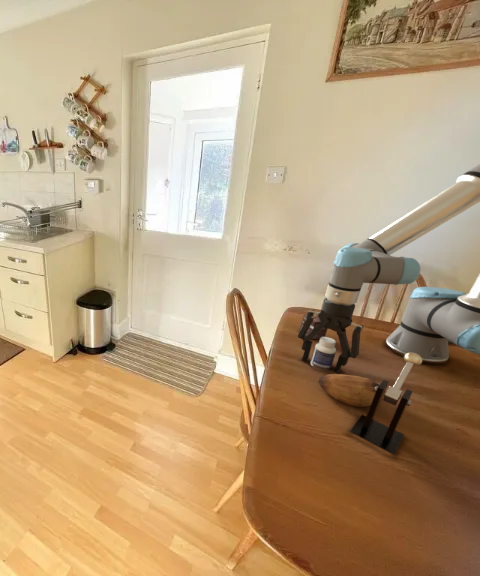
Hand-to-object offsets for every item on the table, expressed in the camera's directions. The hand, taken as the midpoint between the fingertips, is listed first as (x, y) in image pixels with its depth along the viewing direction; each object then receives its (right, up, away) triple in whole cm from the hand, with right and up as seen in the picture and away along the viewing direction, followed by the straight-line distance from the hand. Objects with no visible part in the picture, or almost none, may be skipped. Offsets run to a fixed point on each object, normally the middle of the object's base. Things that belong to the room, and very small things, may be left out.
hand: (320, 365), depth 99 cm
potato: (-4, -6, -15) cm, 16 cm away
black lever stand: (-6, -10, -26) cm, 28 cm away
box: (+10, +7, +19) cm, 22 cm away
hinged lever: (-1, +3, -27) cm, 27 cm away
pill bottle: (0, 0, 0) cm, 0 cm away
